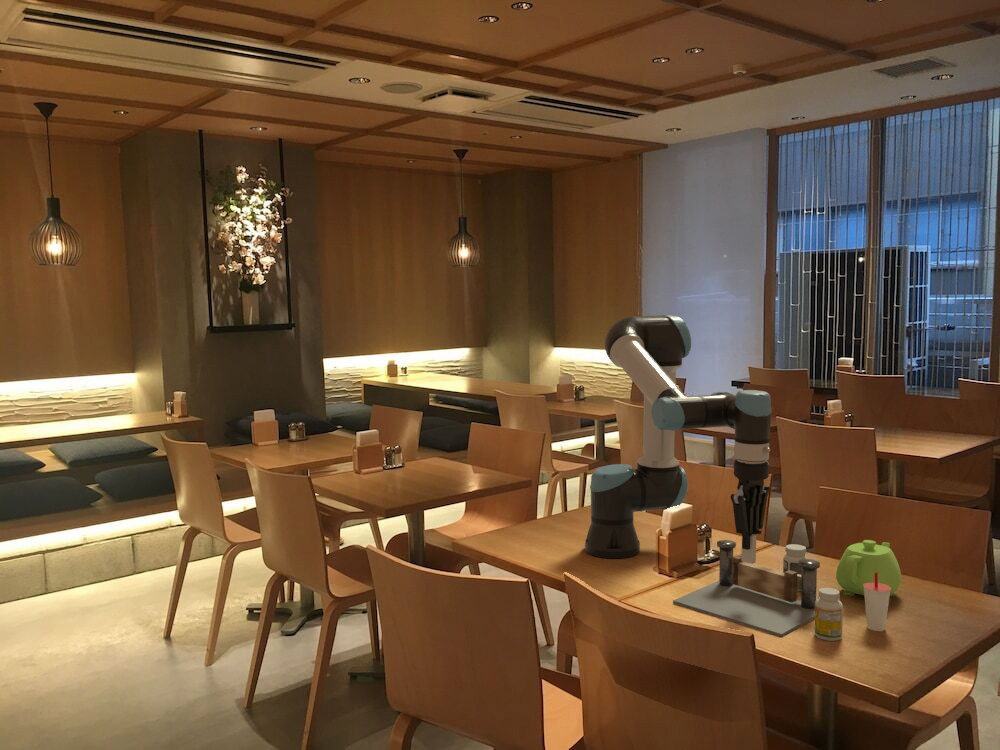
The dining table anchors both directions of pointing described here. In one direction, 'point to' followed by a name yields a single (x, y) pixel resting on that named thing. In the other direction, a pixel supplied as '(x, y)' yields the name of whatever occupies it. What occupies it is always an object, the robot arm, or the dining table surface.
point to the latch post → (808, 582)
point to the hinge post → (725, 561)
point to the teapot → (868, 567)
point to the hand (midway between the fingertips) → (748, 561)
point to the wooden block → (764, 580)
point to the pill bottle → (793, 558)
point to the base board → (748, 608)
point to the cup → (876, 604)
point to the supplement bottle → (828, 615)
